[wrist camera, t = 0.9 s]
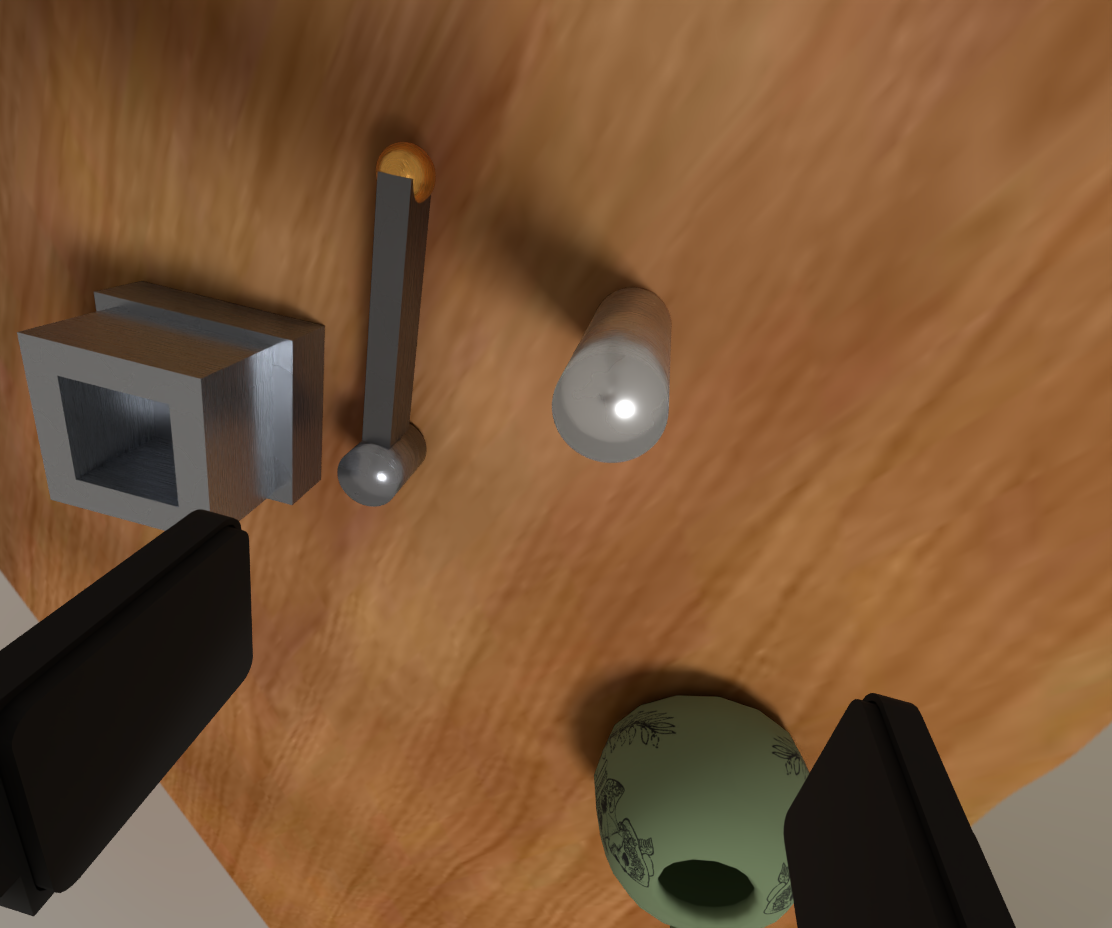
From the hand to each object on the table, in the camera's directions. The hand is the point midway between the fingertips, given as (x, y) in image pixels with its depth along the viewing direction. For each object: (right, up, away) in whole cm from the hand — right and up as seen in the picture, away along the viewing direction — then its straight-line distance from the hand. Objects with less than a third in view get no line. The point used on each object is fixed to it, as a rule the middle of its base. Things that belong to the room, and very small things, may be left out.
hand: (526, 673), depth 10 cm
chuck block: (-17, +7, +25) cm, 31 cm away
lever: (-7, +10, +21) cm, 24 cm away
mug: (+10, -17, +31) cm, 37 cm away
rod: (+4, +10, +20) cm, 22 cm away
